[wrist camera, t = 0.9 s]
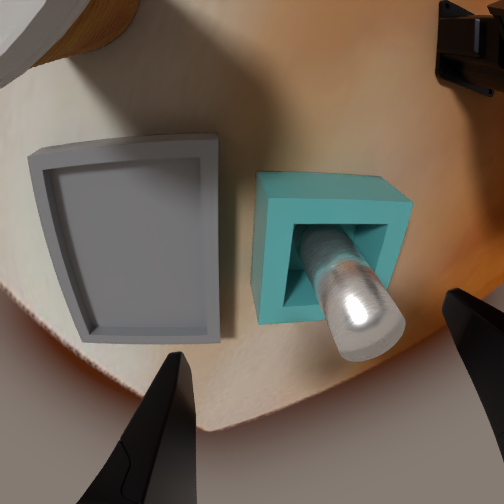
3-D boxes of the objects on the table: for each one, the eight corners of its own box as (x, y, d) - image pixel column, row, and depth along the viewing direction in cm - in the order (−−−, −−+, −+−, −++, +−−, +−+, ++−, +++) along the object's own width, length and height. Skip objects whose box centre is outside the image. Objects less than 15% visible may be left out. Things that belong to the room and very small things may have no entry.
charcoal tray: (217, 132, 18) (218, 139, 17) (219, 325, 27) (220, 343, 25) (41, 148, 17) (27, 156, 15) (87, 326, 25) (82, 342, 24)
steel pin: (343, 212, 22) (415, 306, 14) (335, 255, 24) (391, 355, 15) (295, 212, 21) (349, 314, 13) (289, 256, 23) (331, 365, 15)
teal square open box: (380, 176, 21) (413, 202, 17) (356, 278, 26) (377, 313, 22) (256, 171, 20) (268, 198, 16) (250, 283, 25) (258, 324, 21)
